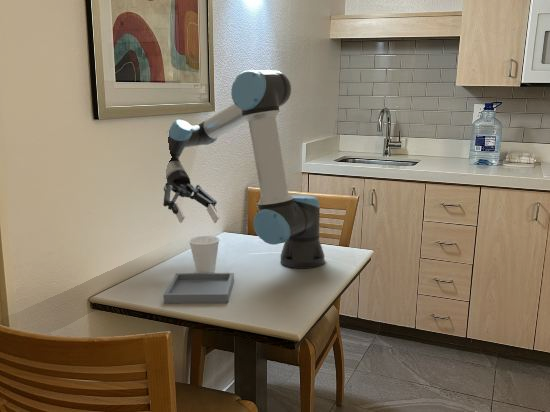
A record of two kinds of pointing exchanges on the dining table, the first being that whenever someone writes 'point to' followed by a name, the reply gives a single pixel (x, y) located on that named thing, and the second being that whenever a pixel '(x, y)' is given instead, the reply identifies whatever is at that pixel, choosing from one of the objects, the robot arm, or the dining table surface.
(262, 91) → the robot arm
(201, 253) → the cup
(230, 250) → the dining table surface
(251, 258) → the dining table surface
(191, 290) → the tray
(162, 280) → the dining table surface
